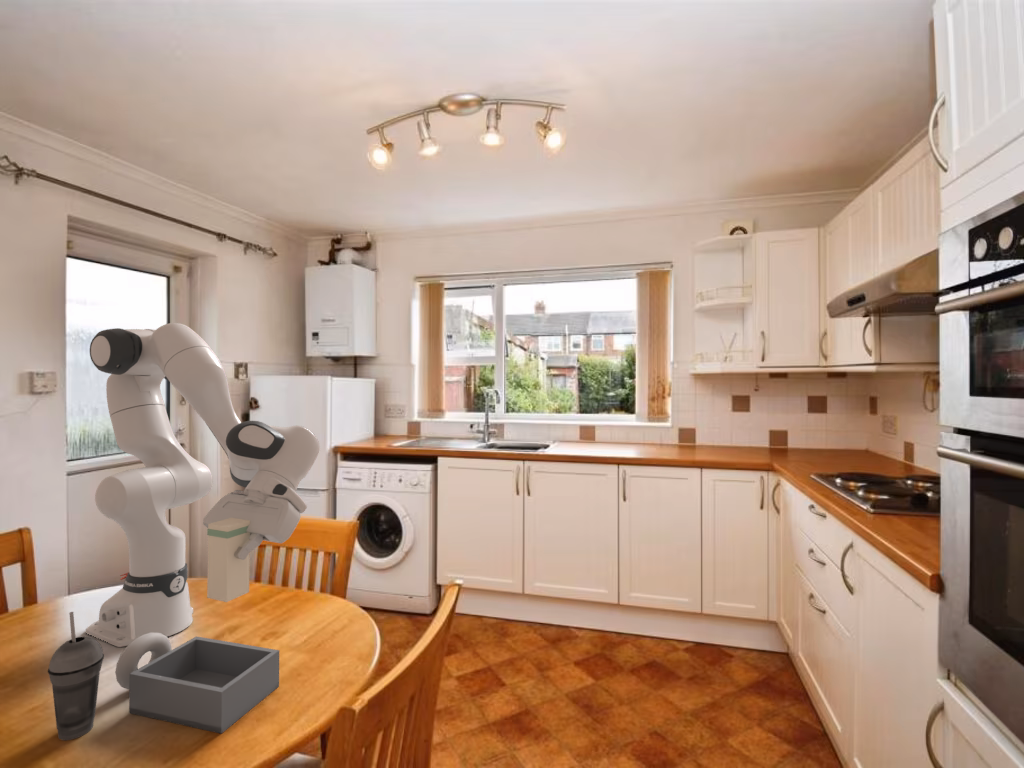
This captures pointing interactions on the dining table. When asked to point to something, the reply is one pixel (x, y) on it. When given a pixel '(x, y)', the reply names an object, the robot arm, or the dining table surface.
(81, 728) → the beverage cup
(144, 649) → the donut
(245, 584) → the juice carton
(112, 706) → the dining table surface
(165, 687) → the box
